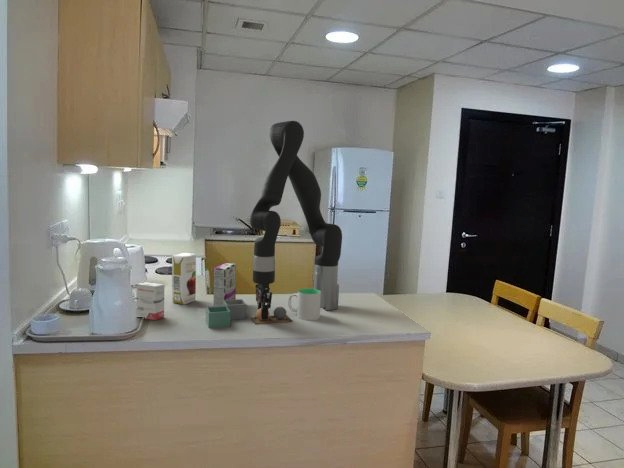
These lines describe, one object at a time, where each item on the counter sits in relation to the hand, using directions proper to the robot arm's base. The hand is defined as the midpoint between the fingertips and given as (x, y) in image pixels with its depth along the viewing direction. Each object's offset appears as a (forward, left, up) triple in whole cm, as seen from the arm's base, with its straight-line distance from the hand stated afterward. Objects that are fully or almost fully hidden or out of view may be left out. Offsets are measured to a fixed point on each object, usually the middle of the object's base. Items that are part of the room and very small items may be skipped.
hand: (262, 316), depth 165 cm
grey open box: (+8, -7, -2) cm, 11 cm away
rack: (-3, 0, -2) cm, 4 cm away
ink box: (+36, -16, -3) cm, 40 cm away
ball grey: (-6, 0, -1) cm, 6 cm away
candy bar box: (+9, -22, -3) cm, 24 cm away
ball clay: (0, 0, -1) cm, 1 cm away
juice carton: (+23, -34, -3) cm, 41 cm away
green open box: (+15, 0, -2) cm, 16 cm away
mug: (-16, -2, -3) cm, 16 cm away
